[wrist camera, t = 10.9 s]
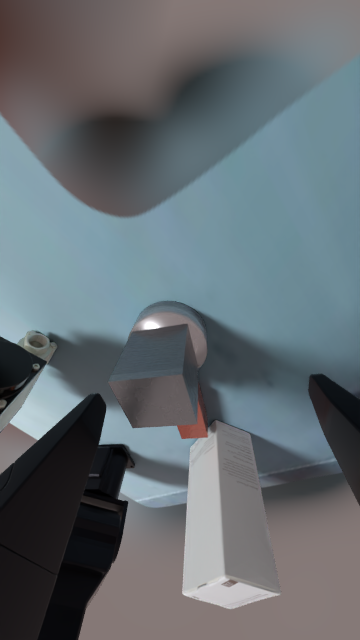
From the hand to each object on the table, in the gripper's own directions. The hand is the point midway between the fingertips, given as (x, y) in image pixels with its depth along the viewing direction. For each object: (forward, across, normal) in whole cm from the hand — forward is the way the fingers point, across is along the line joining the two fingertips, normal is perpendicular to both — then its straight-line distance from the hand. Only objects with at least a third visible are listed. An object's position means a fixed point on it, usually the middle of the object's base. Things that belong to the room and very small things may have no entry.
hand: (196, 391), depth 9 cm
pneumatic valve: (+13, +20, +4) cm, 24 cm away
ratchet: (+12, +4, +11) cm, 17 cm away
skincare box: (+13, +2, +25) cm, 28 cm away
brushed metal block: (+10, +4, +5) cm, 12 cm away
